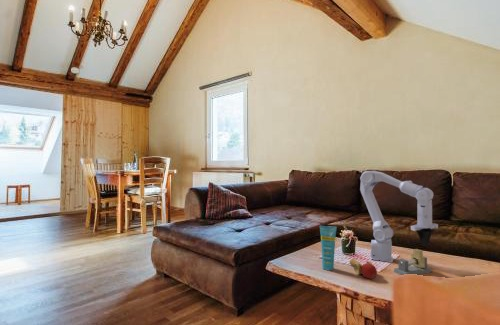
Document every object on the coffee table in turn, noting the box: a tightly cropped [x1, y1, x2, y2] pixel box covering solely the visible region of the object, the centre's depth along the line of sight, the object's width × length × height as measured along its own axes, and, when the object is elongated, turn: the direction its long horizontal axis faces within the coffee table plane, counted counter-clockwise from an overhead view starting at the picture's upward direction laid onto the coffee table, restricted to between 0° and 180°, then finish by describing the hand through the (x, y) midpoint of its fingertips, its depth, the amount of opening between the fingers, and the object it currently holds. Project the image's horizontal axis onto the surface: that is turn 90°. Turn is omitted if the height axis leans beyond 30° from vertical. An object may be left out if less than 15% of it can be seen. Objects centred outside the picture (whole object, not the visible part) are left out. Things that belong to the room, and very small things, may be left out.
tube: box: [319, 225, 337, 271], centre depth 131 cm, size 7×5×19 cm, turn 73°
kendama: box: [349, 258, 378, 280], centre depth 127 cm, size 8×6×18 cm
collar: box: [410, 248, 426, 268], centre depth 128 cm, size 2×5×7 cm, turn 20°
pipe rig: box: [393, 256, 433, 276], centre depth 127 cm, size 15×6×6 cm, turn 111°
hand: (424, 245), depth 131 cm, fingers closed
